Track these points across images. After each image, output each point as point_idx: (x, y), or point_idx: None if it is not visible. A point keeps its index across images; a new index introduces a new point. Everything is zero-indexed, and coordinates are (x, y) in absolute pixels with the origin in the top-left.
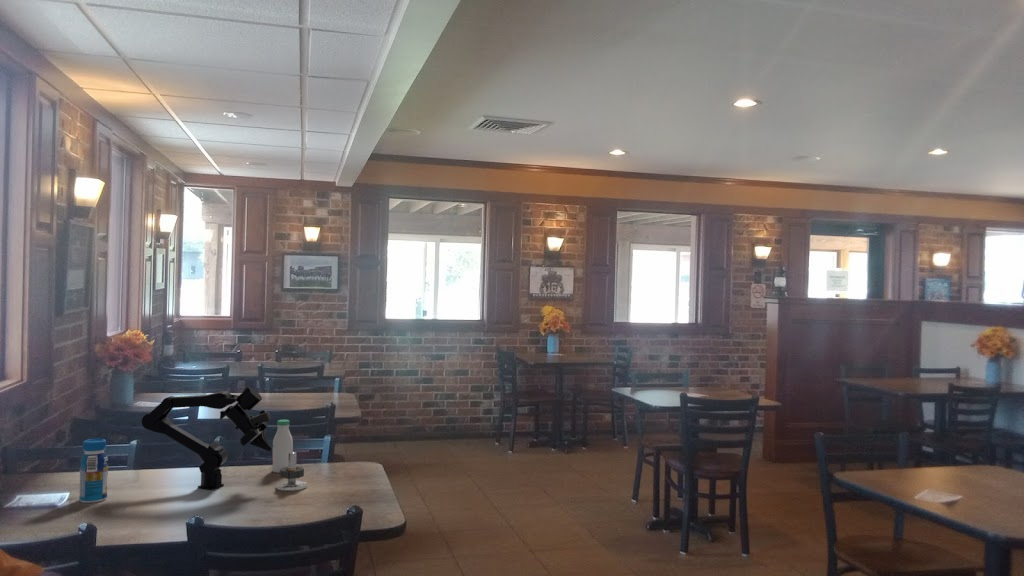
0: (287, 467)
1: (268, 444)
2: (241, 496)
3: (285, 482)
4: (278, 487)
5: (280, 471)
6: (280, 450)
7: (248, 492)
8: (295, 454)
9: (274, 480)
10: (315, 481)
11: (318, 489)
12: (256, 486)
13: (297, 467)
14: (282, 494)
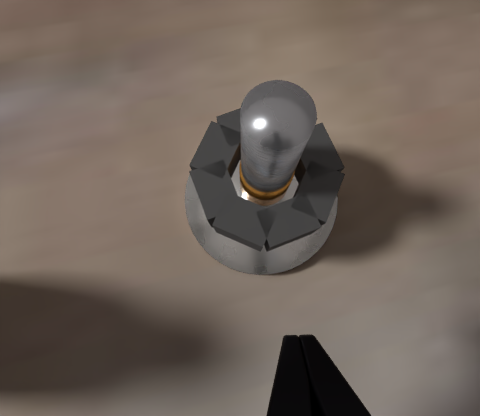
0: (225, 208)
1: (331, 404)
2: (453, 412)
3: (223, 236)
4: (319, 248)
5: (287, 241)
6: None
7: (373, 396)
8: (291, 90)
9: (127, 319)
10: (154, 118)
11: (289, 81)
12: (251, 387)
13: (224, 145)
14: (387, 212)
